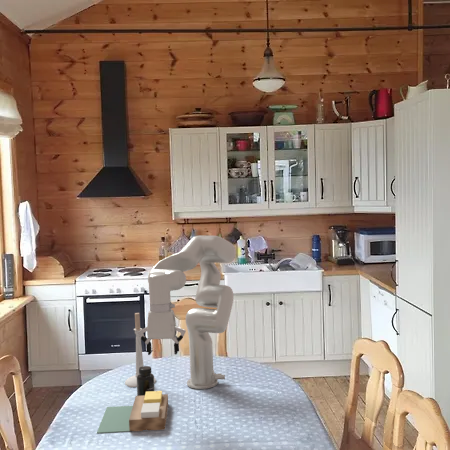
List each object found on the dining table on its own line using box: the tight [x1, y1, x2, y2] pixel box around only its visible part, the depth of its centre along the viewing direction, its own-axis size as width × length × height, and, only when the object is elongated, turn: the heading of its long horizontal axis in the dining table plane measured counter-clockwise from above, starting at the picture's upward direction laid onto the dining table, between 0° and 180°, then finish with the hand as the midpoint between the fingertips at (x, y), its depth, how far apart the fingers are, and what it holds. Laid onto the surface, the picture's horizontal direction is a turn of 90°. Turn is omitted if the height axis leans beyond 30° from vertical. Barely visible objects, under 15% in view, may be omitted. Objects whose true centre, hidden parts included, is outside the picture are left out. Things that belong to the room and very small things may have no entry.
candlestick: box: [124, 312, 157, 388], centre depth 245 cm, size 13×13×30 cm
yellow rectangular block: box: [144, 390, 163, 404], centre depth 215 cm, size 6×8×2 cm
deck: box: [129, 393, 169, 432], centre depth 209 cm, size 12×22×4 cm, turn 2°
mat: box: [96, 405, 133, 434], centre depth 209 cm, size 12×22×1 cm, turn 2°
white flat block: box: [141, 403, 160, 418], centre depth 203 cm, size 6×8×2 cm
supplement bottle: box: [136, 365, 156, 396], centre depth 228 cm, size 7×7×12 cm
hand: (163, 353), depth 213 cm, fingers open, 9 cm apart
